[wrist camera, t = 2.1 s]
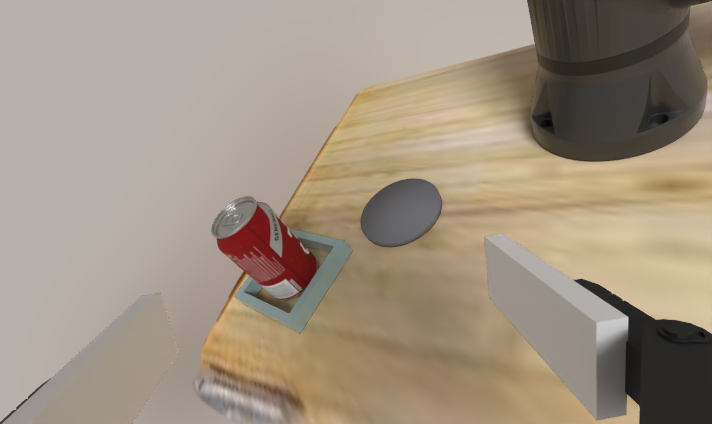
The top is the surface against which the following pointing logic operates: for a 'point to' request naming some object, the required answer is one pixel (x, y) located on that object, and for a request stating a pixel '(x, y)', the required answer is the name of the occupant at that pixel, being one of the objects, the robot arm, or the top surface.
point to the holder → (313, 291)
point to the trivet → (401, 212)
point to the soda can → (264, 247)
